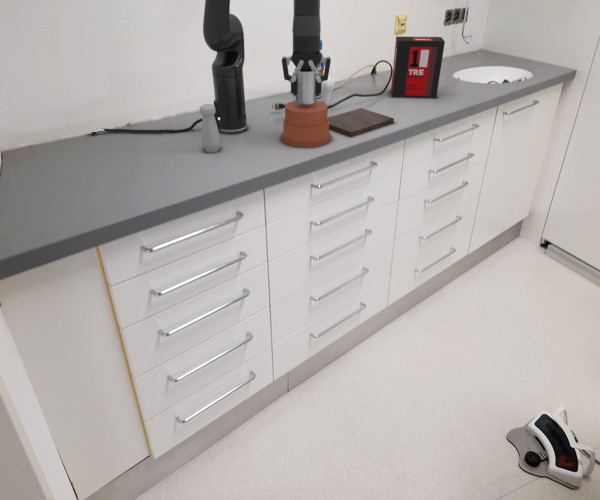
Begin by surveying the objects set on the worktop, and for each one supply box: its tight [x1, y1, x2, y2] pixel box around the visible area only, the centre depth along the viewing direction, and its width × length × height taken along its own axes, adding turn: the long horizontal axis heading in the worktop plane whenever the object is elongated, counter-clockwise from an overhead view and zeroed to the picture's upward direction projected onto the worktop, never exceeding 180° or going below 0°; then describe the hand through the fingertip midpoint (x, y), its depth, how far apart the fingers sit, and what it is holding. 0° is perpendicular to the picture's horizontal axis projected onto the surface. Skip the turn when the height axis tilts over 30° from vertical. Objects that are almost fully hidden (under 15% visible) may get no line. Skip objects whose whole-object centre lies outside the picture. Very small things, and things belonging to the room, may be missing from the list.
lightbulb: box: [320, 75, 336, 107], centre depth 168 cm, size 6×6×11 cm
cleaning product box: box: [390, 36, 446, 99], centre depth 179 cm, size 16×9×20 cm, turn 84°
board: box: [327, 107, 395, 137], centre depth 156 cm, size 20×15×2 cm
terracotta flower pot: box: [281, 99, 332, 148], centre depth 142 cm, size 15×15×10 cm
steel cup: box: [295, 71, 317, 104], centre depth 136 cm, size 6×6×9 cm
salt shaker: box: [199, 103, 222, 154], centre depth 134 cm, size 6×6×13 cm
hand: (305, 94), depth 138 cm, fingers closed on steel cup, 6 cm apart
